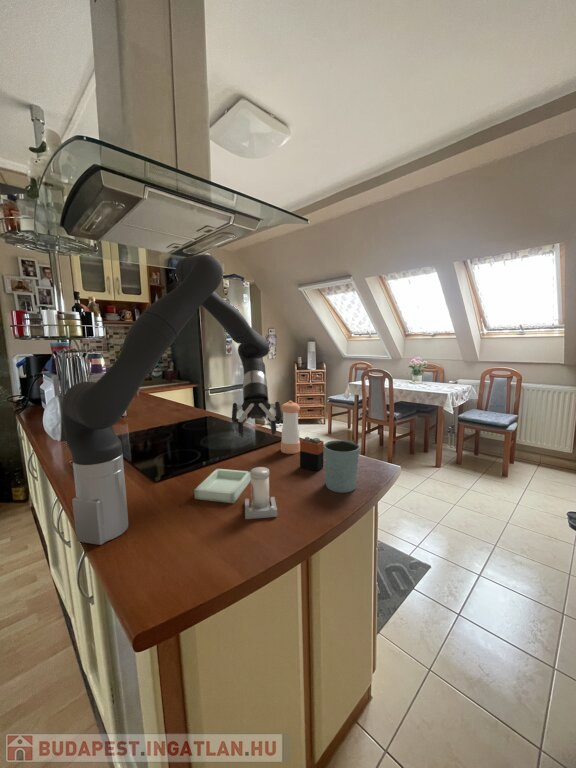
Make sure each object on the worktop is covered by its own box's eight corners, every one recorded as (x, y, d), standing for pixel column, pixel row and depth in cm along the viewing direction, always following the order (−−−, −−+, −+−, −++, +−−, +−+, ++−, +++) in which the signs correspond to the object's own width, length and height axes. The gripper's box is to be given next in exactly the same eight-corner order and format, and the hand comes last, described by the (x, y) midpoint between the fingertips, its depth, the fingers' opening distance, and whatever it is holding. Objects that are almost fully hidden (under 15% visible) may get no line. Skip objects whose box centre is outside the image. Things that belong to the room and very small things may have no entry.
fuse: (270, 512, 78) (269, 474, 76) (251, 514, 77) (250, 475, 75) (268, 503, 82) (268, 466, 81) (251, 504, 81) (250, 467, 80)
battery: (317, 472, 101) (318, 441, 100) (299, 467, 105) (299, 438, 103) (323, 467, 105) (324, 438, 103) (306, 463, 108) (306, 434, 107)
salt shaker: (277, 451, 120) (276, 401, 117) (288, 445, 125) (288, 398, 123) (292, 455, 115) (292, 403, 112) (303, 449, 121) (304, 400, 118)
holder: (277, 516, 76) (277, 507, 76) (245, 519, 75) (245, 510, 75) (274, 501, 83) (274, 492, 83) (245, 503, 82) (244, 494, 82)
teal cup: (324, 493, 87) (324, 451, 86) (322, 477, 97) (322, 439, 96) (361, 494, 87) (362, 452, 85) (355, 478, 97) (356, 440, 95)
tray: (233, 503, 82) (233, 493, 82) (194, 498, 84) (194, 489, 84) (251, 479, 96) (251, 471, 95) (217, 476, 98) (216, 468, 98)
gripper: (231, 381, 94) (231, 430, 85) (279, 380, 96) (284, 428, 87) (232, 396, 100) (232, 443, 91) (277, 394, 102) (281, 440, 93)
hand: (257, 435), depth 89 cm, fingers open, 8 cm apart
